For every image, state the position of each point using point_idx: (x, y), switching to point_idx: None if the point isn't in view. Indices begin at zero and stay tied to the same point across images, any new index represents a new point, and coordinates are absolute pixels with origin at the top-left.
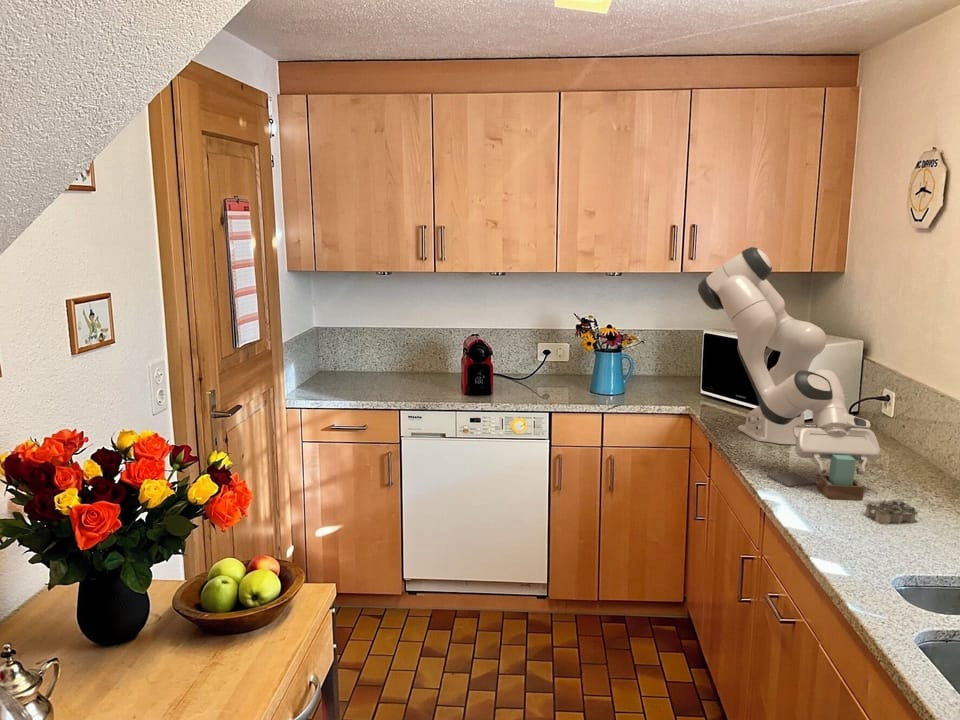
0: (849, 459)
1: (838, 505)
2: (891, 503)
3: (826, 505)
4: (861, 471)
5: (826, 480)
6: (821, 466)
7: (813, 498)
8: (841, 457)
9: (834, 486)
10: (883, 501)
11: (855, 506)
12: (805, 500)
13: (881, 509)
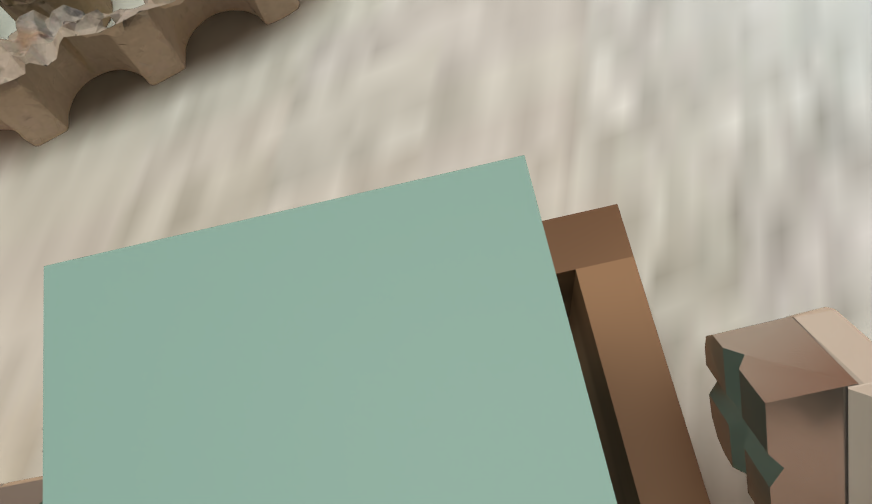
0: (198, 245)
1: (512, 115)
2: (24, 24)
3: (632, 70)
4: (34, 478)
5: (649, 445)
6: (844, 338)
7: (766, 229)
8: (381, 378)
9: (549, 222)
10: (84, 33)
11: (349, 150)
12: (851, 132)
13: (141, 69)
